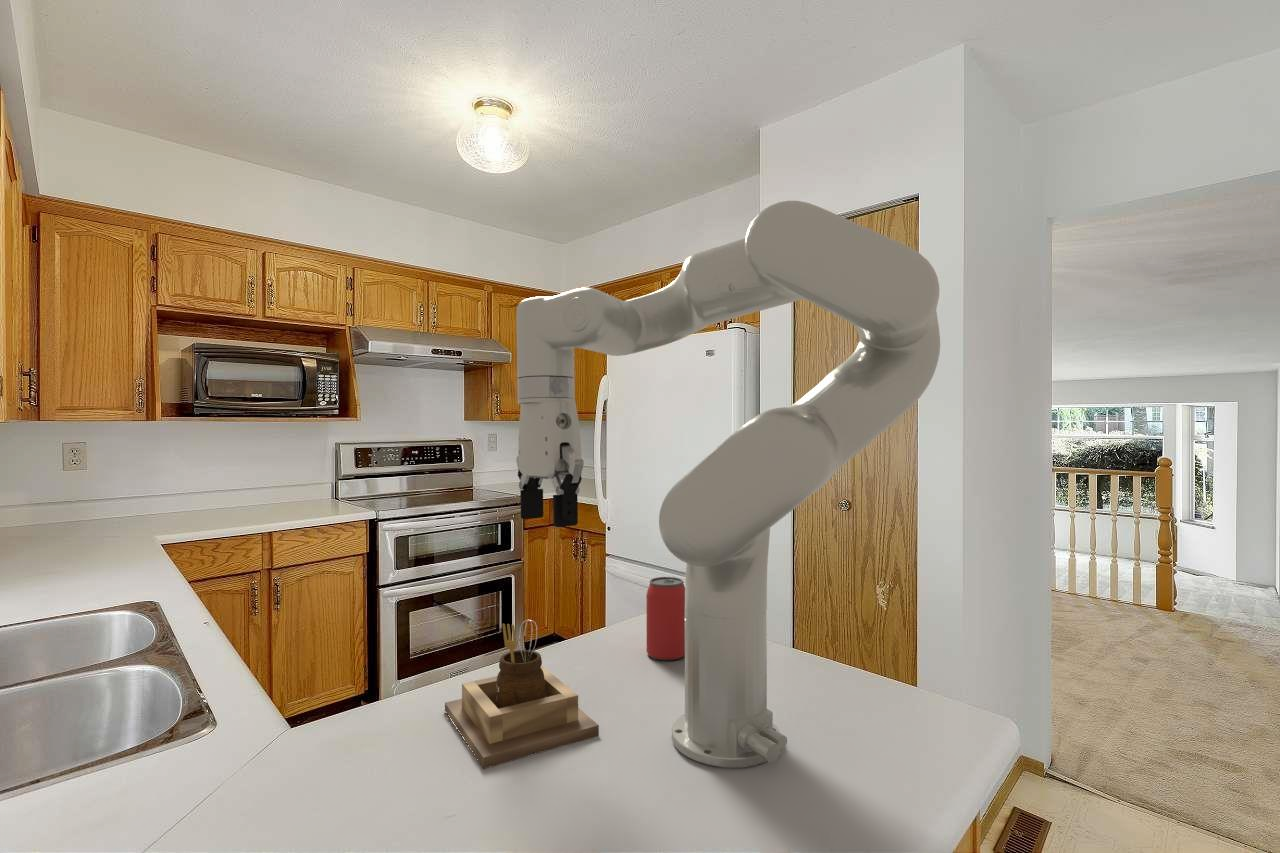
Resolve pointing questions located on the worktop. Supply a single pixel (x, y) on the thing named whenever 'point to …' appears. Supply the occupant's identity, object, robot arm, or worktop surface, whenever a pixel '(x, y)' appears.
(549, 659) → the worktop surface
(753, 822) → the worktop surface
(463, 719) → the socket board
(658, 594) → the beer can
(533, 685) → the utensil holder
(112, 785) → the worktop surface
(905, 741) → the worktop surface
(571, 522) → the robot arm
